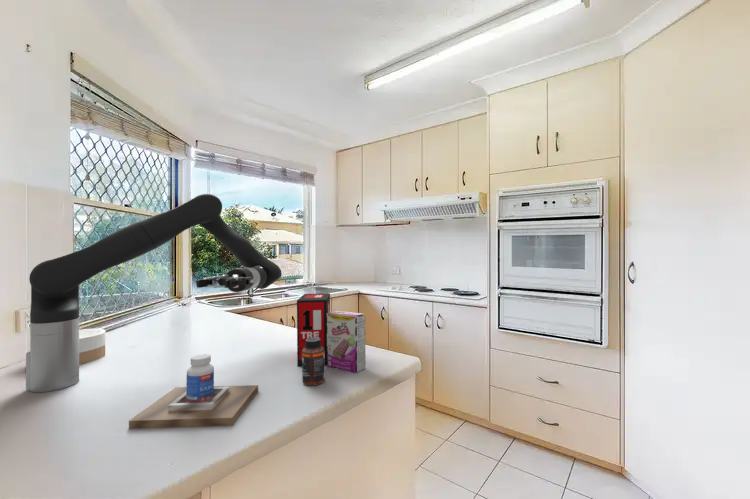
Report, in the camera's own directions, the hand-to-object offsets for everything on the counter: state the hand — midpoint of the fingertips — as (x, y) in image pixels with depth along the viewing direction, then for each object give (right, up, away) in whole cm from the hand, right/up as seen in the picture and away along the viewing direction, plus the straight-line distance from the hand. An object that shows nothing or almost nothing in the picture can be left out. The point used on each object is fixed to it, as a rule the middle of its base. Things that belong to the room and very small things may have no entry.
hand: (211, 283), depth 89 cm
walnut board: (+6, -26, -17) cm, 32 cm away
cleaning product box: (+25, -26, +17) cm, 40 cm away
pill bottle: (+6, -24, -17) cm, 30 cm away
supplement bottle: (+29, -26, -3) cm, 39 cm away
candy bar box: (+36, -26, +7) cm, 45 cm away
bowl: (-55, -27, +17) cm, 64 cm away
